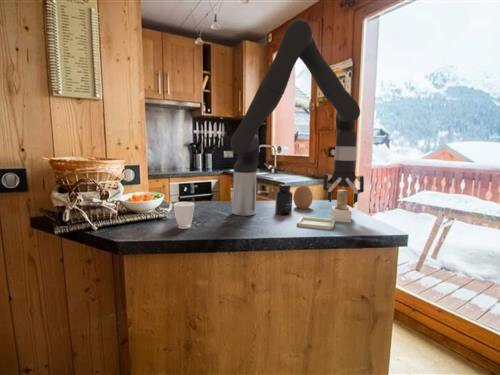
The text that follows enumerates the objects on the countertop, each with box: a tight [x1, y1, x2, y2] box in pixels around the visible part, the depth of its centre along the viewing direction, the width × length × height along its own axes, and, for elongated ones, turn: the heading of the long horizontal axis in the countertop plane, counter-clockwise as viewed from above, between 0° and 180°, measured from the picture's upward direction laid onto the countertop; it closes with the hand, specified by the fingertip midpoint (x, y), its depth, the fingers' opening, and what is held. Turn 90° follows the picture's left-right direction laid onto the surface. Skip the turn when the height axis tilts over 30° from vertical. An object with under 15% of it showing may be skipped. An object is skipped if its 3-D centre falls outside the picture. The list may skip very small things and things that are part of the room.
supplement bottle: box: [274, 183, 293, 216], centre depth 121 cm, size 7×7×12 cm
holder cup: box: [330, 205, 353, 223], centre depth 111 cm, size 7×7×5 cm
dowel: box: [336, 189, 349, 210], centre depth 110 cm, size 4×4×11 cm
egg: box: [292, 183, 314, 210], centre depth 129 cm, size 8×8×11 cm
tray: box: [296, 216, 336, 231], centre depth 103 cm, size 12×10×2 cm
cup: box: [172, 201, 196, 230], centre depth 101 cm, size 7×10×8 cm
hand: (342, 202), depth 110 cm, fingers open, 8 cm apart
